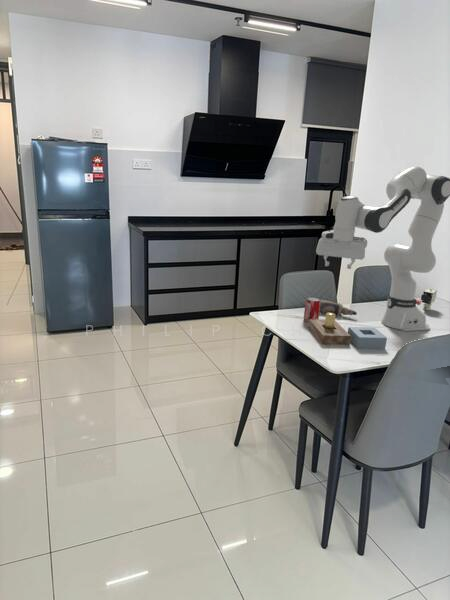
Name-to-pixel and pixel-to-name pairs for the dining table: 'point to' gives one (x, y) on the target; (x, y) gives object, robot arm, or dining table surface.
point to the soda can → (312, 309)
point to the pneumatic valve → (428, 298)
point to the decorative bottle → (335, 308)
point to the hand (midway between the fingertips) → (337, 267)
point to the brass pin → (329, 321)
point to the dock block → (367, 338)
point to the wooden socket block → (329, 333)
